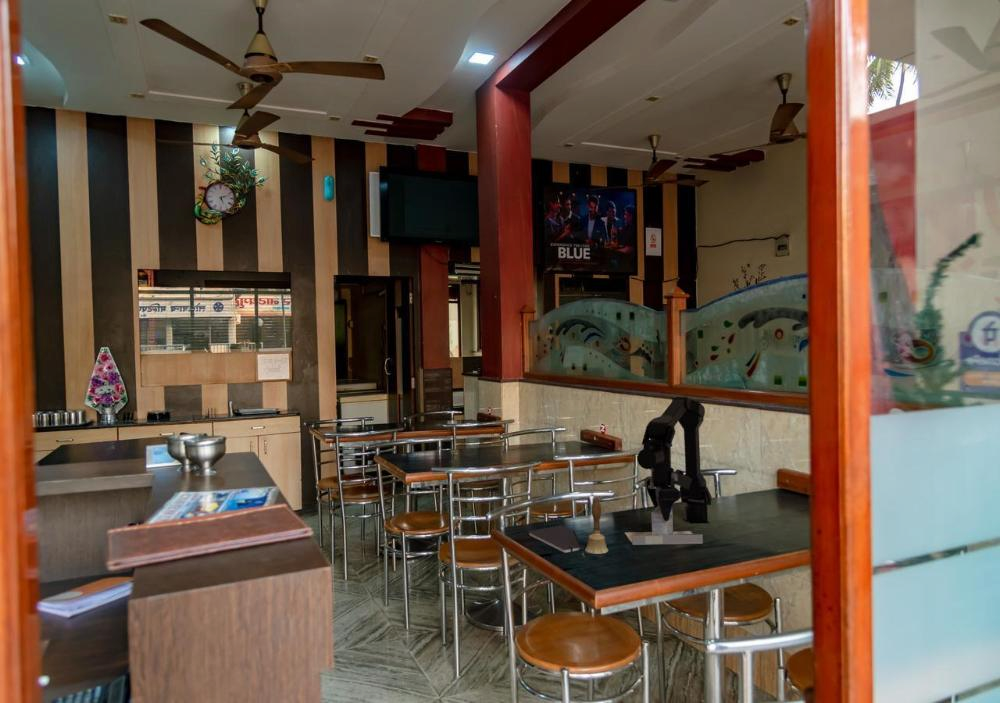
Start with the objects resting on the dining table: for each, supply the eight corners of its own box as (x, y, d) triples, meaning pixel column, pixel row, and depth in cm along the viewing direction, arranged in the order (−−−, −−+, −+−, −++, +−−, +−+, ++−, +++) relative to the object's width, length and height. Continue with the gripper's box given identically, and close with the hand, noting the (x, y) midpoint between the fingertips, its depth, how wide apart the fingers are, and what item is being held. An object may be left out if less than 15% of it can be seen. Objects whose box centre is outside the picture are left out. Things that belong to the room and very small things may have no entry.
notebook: (601, 547, 183) (561, 530, 202) (601, 542, 183) (561, 525, 202) (564, 554, 177) (527, 536, 196) (564, 549, 177) (527, 531, 196)
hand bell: (609, 550, 179) (608, 494, 179) (614, 560, 170) (612, 501, 170) (580, 550, 179) (579, 495, 179) (583, 560, 170) (582, 502, 171)
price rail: (701, 542, 179) (701, 533, 179) (702, 543, 178) (702, 534, 178) (632, 543, 179) (632, 535, 179) (633, 544, 178) (632, 536, 178)
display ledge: (690, 536, 190) (690, 531, 190) (702, 548, 178) (702, 543, 178) (624, 537, 191) (624, 532, 191) (633, 549, 179) (632, 544, 179)
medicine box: (667, 542, 180) (666, 512, 179) (651, 540, 182) (651, 511, 181) (673, 534, 187) (672, 505, 186) (658, 532, 189) (657, 504, 188)
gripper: (698, 469, 175) (699, 524, 175) (679, 457, 193) (680, 508, 193) (658, 469, 175) (659, 525, 175) (643, 458, 193) (644, 508, 193)
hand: (662, 516), depth 184 cm, fingers open, 9 cm apart
